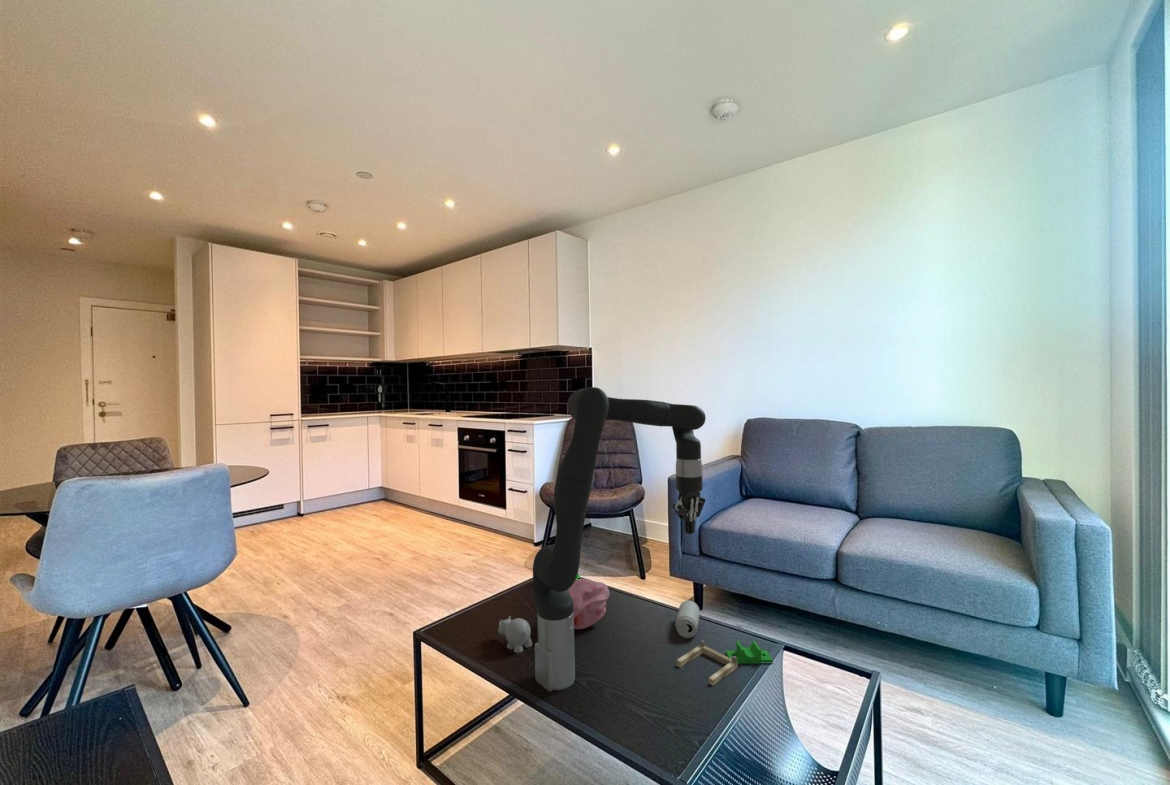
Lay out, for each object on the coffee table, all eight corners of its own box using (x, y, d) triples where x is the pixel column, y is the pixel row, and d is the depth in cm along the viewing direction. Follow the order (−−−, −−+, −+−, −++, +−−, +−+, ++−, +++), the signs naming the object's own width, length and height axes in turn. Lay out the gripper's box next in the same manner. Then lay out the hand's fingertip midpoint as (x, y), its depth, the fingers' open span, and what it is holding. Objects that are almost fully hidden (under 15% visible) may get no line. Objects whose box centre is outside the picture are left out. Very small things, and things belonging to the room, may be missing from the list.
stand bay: (713, 688, 111) (712, 675, 111) (676, 667, 120) (676, 655, 120) (737, 669, 118) (737, 657, 118) (701, 651, 127) (701, 639, 127)
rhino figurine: (510, 633, 138) (509, 606, 138) (536, 648, 130) (535, 619, 130) (490, 644, 132) (490, 615, 132) (516, 659, 124) (516, 629, 124)
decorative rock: (581, 647, 130) (580, 595, 130) (544, 632, 138) (543, 583, 138) (616, 619, 145) (615, 573, 145) (580, 607, 153) (579, 563, 153)
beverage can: (701, 619, 143) (698, 639, 132) (681, 619, 145) (677, 639, 134) (698, 599, 143) (695, 617, 132) (677, 599, 145) (673, 618, 134)
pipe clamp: (765, 640, 125) (772, 649, 120) (766, 654, 125) (772, 663, 120) (725, 641, 125) (730, 650, 120) (725, 654, 125) (730, 664, 120)
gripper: (685, 478, 124) (686, 541, 124) (713, 472, 132) (714, 531, 132) (664, 475, 129) (665, 535, 129) (692, 469, 138) (693, 525, 138)
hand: (690, 533), depth 131 cm, fingers closed
